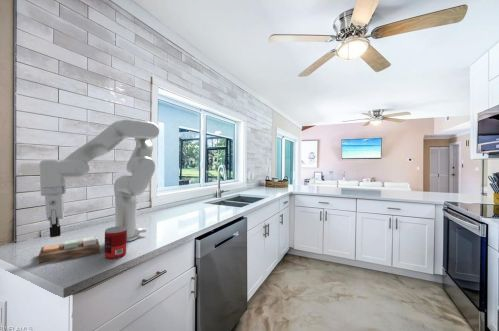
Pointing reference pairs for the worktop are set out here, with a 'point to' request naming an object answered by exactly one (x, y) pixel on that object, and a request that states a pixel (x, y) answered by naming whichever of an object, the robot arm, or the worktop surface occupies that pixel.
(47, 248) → the terracotta key
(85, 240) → the ivory key
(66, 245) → the sage key
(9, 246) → the worktop surface
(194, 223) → the worktop surface
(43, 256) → the key panel
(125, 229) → the canned food
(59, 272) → the worktop surface
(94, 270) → the worktop surface
